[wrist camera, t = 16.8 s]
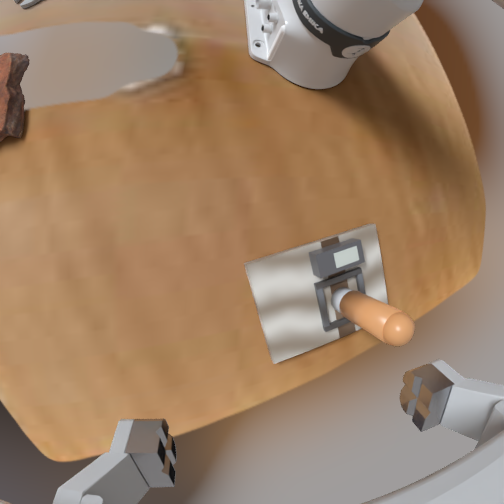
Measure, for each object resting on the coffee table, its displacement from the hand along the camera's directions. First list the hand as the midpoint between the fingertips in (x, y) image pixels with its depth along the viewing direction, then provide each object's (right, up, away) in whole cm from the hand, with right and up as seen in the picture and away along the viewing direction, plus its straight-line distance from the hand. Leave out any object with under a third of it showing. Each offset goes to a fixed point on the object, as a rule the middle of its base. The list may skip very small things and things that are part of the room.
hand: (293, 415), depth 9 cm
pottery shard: (-42, +27, +22) cm, 54 cm away
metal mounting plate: (+9, 0, +36) cm, 37 cm away
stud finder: (+10, +5, +33) cm, 35 cm away
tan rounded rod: (+12, -1, +35) cm, 36 cm away
